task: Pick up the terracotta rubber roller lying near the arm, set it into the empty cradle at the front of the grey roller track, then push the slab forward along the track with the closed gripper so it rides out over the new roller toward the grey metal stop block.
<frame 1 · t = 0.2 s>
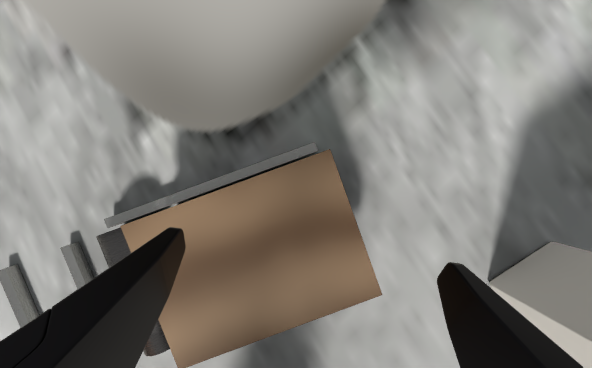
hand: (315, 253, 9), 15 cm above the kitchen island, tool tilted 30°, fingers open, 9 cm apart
slab: (256, 254, 18), point 6 cm above the kitchen island, slide at 0.0 cm
milk carton: (535, 291, 25), on the kitchen island
track: (202, 257, 24), on the kitchen island
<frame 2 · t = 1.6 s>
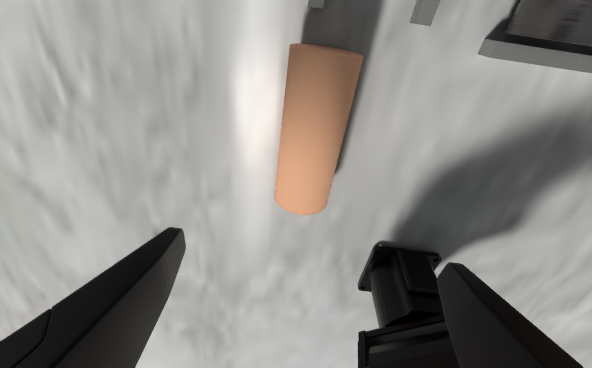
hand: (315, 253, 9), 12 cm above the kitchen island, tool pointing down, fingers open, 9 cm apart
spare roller: (311, 124, 19), on the kitchen island
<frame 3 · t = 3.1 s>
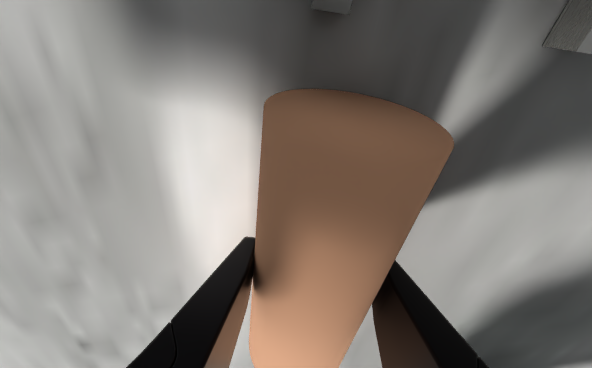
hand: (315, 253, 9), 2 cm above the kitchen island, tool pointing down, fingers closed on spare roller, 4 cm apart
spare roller: (314, 222, 10), on the kitchen island, touching gripper
when the fingers open (2 cm above the kitchen island, at t = 7.0 s): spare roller stays where it is, on the kitchen island.
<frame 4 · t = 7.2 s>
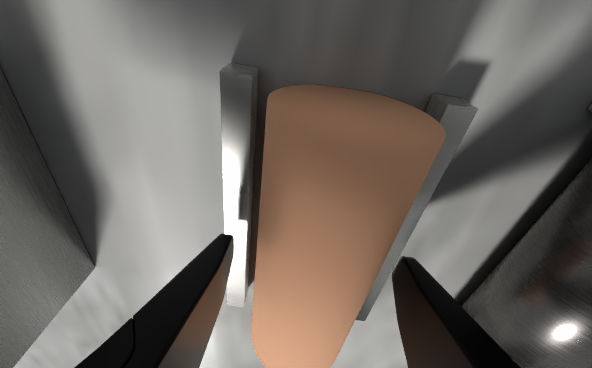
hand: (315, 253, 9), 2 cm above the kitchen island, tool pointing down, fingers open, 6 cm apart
stop block: (14, 178, 10), on the kitchen island
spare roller: (315, 214, 10), on the kitchen island
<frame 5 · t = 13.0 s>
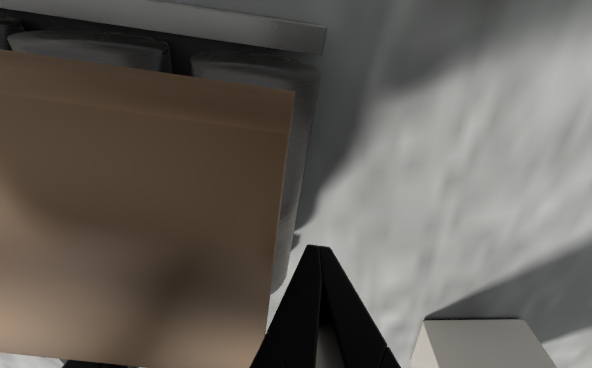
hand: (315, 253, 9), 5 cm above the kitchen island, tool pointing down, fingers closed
slab: (39, 239, 8), point 6 cm above the kitchen island, slide at 0.7 cm, touching gripper
milk carton: (458, 338, 21), on the kitchen island
track: (28, 136, 12), on the kitchen island
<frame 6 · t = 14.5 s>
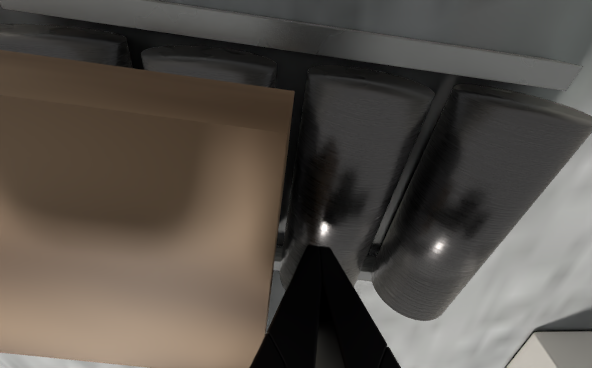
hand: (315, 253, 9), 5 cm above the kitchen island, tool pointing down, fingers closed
slab: (40, 239, 8), point 6 cm above the kitchen island, slide at 9.3 cm, touching gripper
milk carton: (559, 348, 22), on the kitchen island
track: (210, 160, 13), on the kitchen island
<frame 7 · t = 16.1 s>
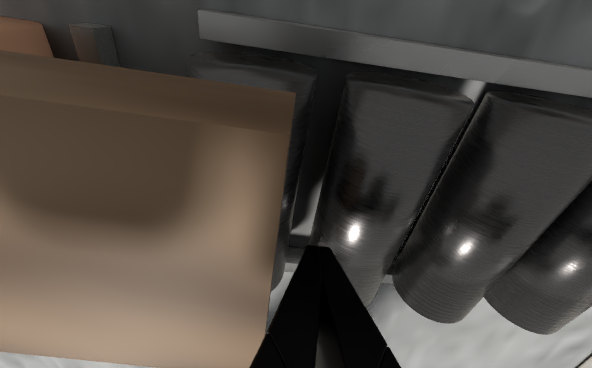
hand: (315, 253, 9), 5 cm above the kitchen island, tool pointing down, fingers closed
slab: (42, 239, 8), point 6 cm above the kitchen island, slide at 15.6 cm, touching gripper
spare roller: (73, 140, 13), on the kitchen island, tilted 11°
track: (337, 177, 13), on the kitchen island
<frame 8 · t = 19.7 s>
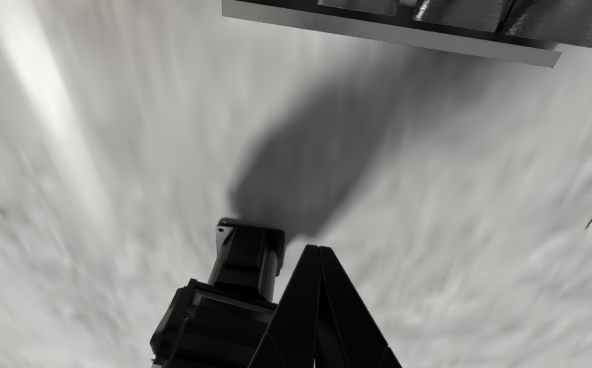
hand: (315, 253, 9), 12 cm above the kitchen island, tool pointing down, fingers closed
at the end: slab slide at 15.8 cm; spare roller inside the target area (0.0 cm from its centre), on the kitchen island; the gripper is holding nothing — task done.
